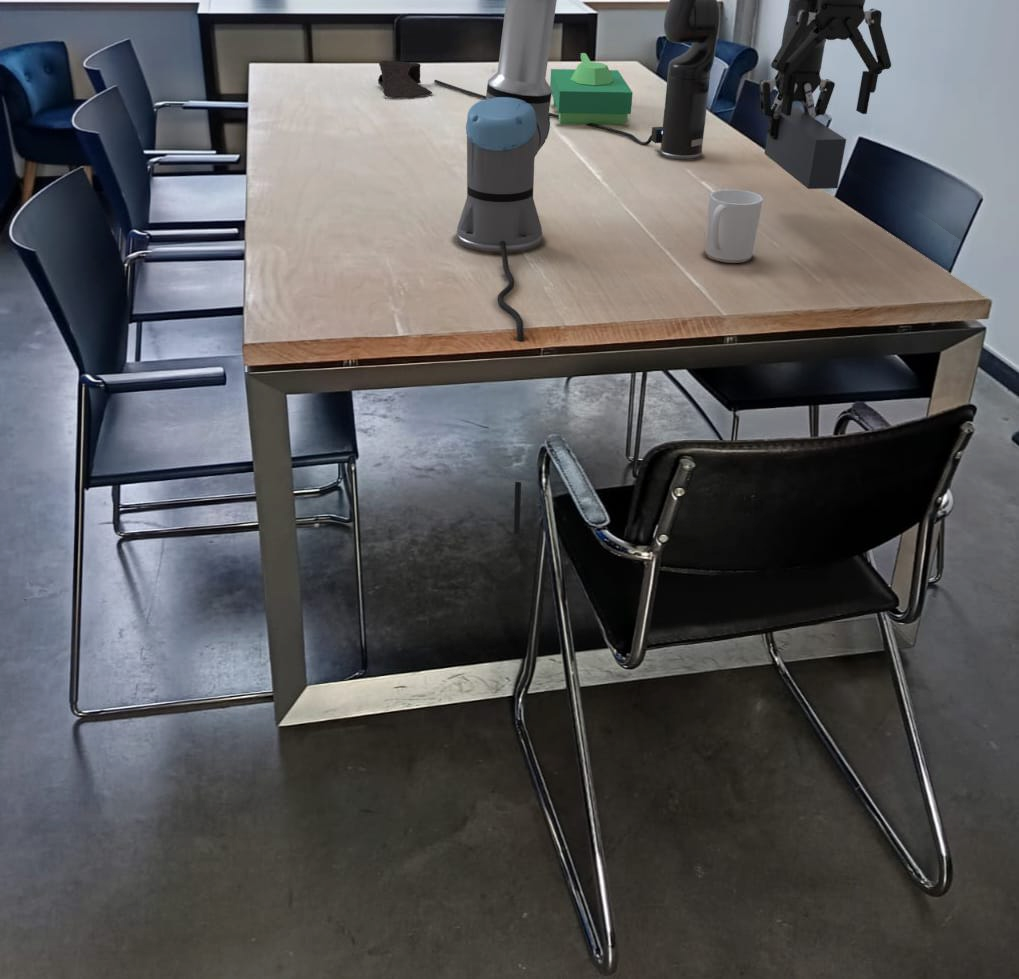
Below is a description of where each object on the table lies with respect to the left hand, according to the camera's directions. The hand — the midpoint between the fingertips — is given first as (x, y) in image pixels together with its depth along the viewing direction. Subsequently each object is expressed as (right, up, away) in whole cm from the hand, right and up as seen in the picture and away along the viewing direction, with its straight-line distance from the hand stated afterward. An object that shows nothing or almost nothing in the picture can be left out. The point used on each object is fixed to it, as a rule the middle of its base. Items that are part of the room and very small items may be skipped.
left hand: (823, 113), depth 188 cm
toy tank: (-34, +33, +95) cm, 106 cm away
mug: (-16, -24, +2) cm, 30 cm away
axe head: (-83, +45, +112) cm, 147 cm away
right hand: (-2, +1, +16) cm, 17 cm away
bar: (-1, -6, +12) cm, 14 cm away
